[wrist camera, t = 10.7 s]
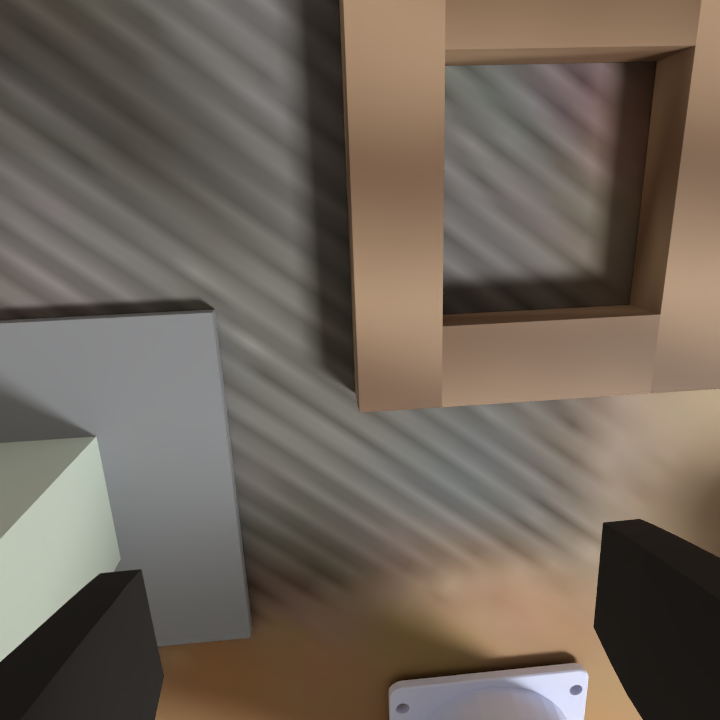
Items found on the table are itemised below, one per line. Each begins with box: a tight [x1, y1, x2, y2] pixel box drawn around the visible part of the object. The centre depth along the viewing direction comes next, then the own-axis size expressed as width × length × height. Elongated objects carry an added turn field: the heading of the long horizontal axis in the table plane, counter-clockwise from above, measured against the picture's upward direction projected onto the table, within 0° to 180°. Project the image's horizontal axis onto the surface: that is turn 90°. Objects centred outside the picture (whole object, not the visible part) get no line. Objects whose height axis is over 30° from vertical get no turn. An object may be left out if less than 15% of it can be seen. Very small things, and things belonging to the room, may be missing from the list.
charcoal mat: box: [0, 309, 252, 647], centre depth 17 cm, size 12×12×1 cm
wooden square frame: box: [339, 0, 720, 413], centre depth 15 cm, size 12×12×2 cm
